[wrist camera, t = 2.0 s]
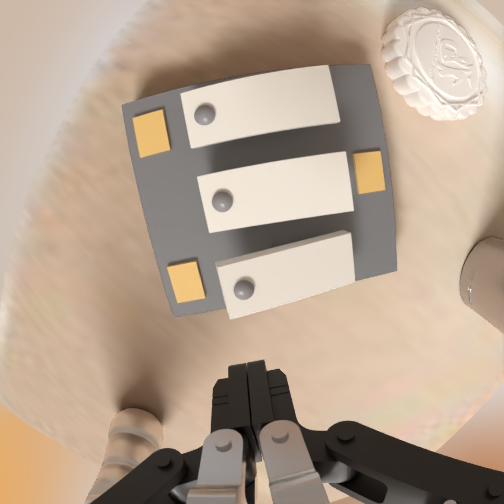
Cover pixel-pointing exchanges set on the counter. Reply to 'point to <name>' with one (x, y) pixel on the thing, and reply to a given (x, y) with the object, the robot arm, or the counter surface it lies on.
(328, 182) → the plate
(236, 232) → the switch console
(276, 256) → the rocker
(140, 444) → the plastic bottle
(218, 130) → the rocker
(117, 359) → the counter surface
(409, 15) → the mooncake
